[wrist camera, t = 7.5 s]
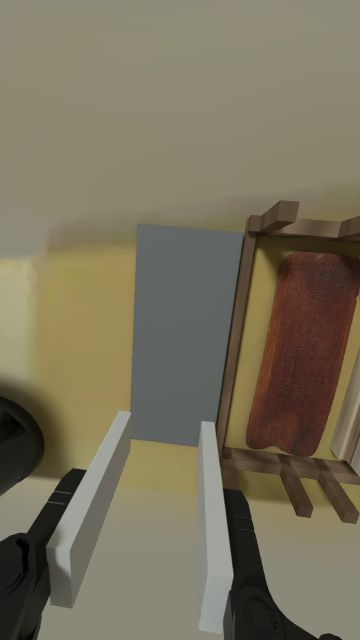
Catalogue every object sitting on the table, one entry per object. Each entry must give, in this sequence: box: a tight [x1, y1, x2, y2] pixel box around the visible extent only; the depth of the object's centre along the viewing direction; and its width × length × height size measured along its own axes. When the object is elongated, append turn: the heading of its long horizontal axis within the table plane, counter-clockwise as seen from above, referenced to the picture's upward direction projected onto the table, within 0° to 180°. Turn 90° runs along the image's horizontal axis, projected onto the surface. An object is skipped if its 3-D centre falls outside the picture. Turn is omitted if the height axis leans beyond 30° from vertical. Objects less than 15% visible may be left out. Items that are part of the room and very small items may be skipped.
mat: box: [130, 224, 244, 447], centre depth 28 cm, size 12×29×1 cm, turn 175°
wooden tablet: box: [246, 252, 360, 457], centre depth 26 cm, size 27×10×2 cm, turn 174°
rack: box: [216, 200, 360, 524], centre depth 24 cm, size 25×32×7 cm
